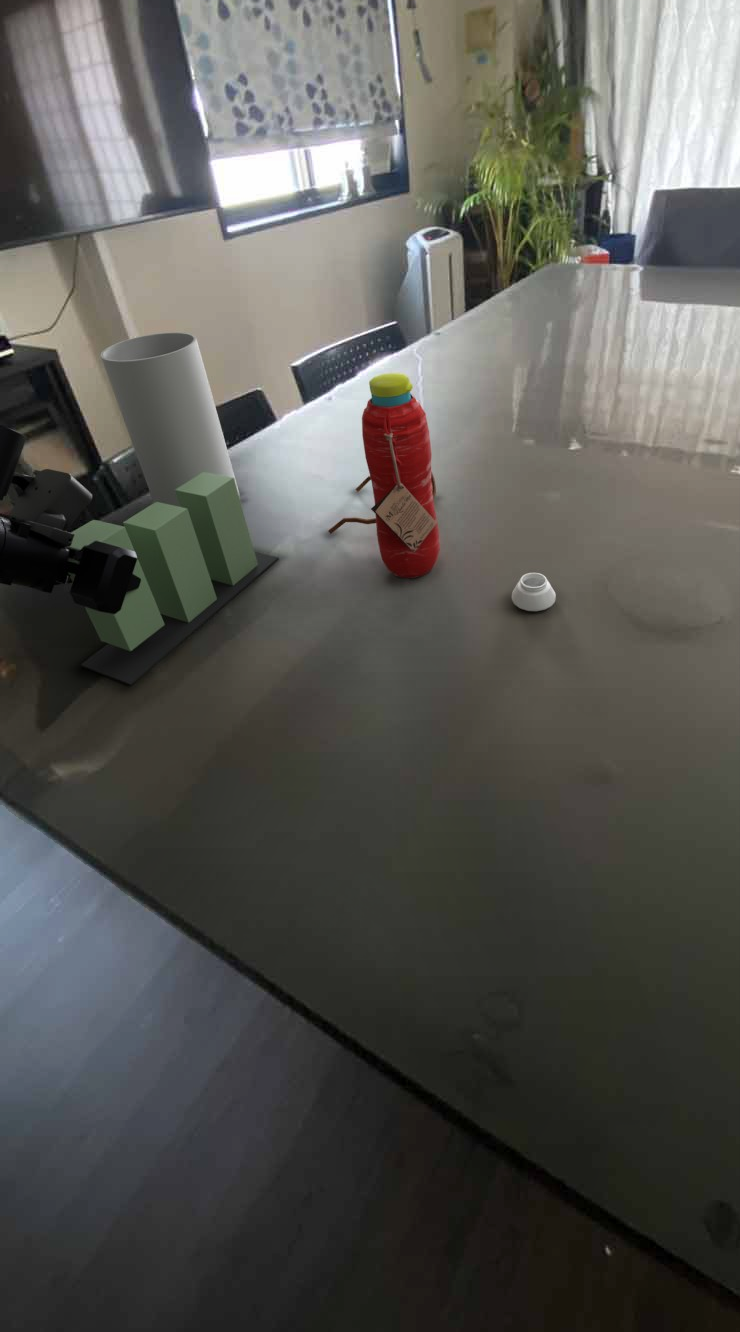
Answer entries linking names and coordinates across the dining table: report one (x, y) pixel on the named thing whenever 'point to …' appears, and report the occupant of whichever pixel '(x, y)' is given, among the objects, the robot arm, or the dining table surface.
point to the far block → (219, 526)
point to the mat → (167, 633)
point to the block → (138, 605)
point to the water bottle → (400, 476)
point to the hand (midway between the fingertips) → (122, 578)
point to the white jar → (533, 593)
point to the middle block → (171, 560)
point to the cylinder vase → (167, 410)
